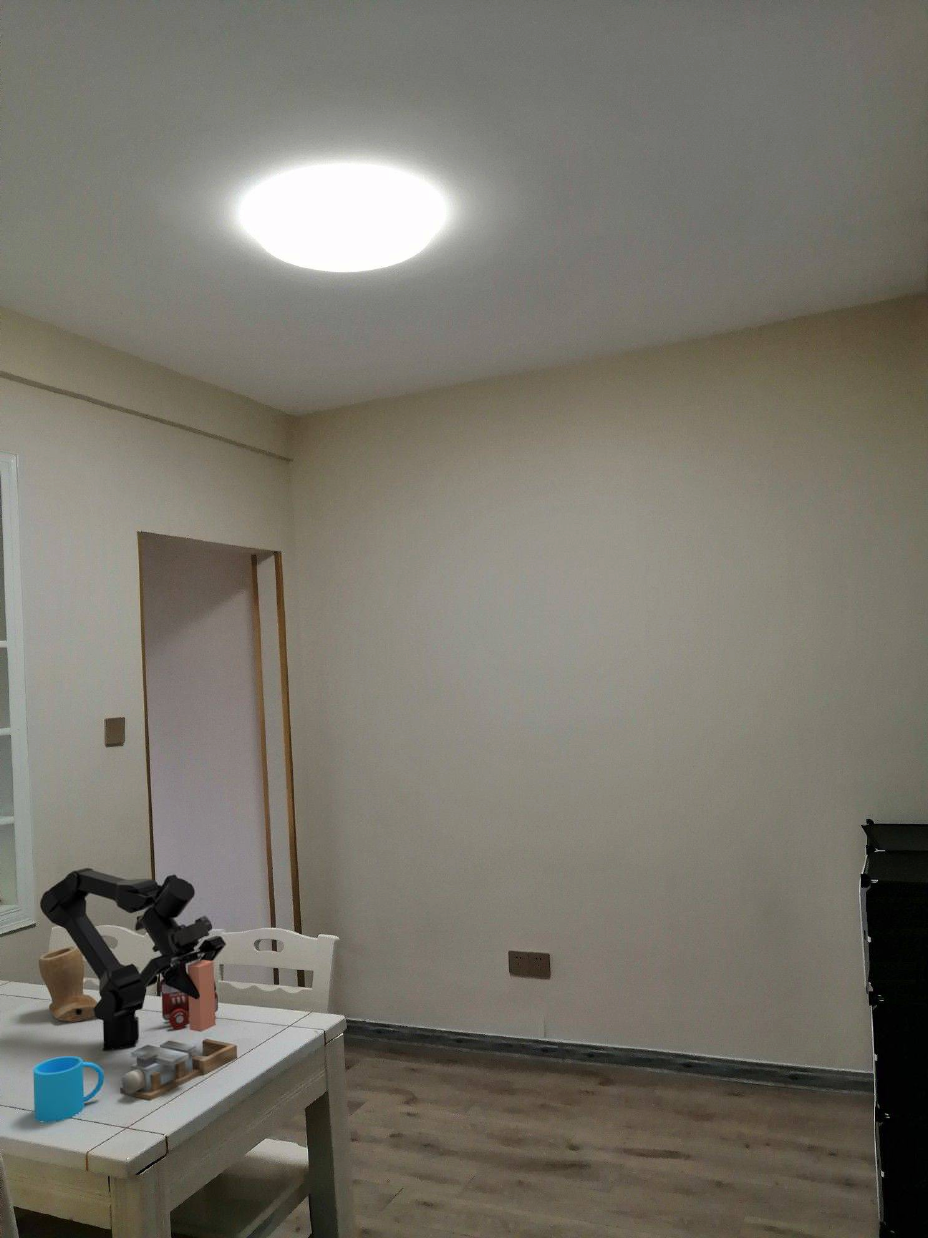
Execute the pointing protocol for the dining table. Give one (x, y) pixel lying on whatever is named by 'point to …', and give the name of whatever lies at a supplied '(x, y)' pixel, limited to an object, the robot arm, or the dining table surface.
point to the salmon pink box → (202, 996)
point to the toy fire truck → (176, 1006)
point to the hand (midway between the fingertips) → (206, 994)
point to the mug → (61, 1088)
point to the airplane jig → (172, 1066)
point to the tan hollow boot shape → (66, 984)
